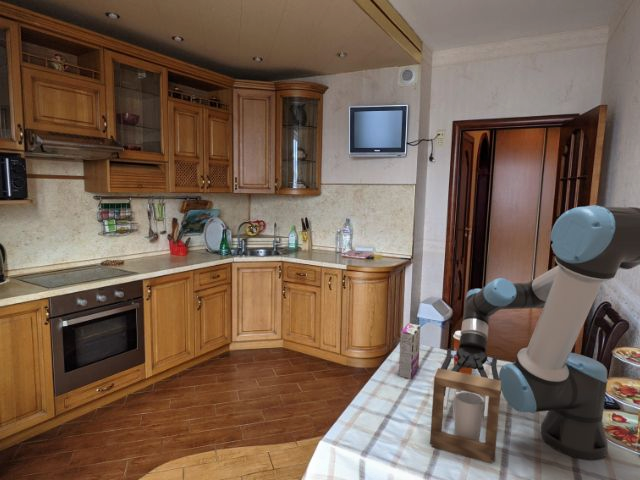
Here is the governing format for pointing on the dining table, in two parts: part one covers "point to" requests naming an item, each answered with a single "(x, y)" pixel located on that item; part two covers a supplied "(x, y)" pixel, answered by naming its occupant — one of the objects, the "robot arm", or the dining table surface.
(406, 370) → the candy bar box
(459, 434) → the mug
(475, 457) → the brown wooden frame
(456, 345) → the coffee cup
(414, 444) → the dining table surface
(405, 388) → the dining table surface
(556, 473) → the dining table surface
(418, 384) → the dining table surface
